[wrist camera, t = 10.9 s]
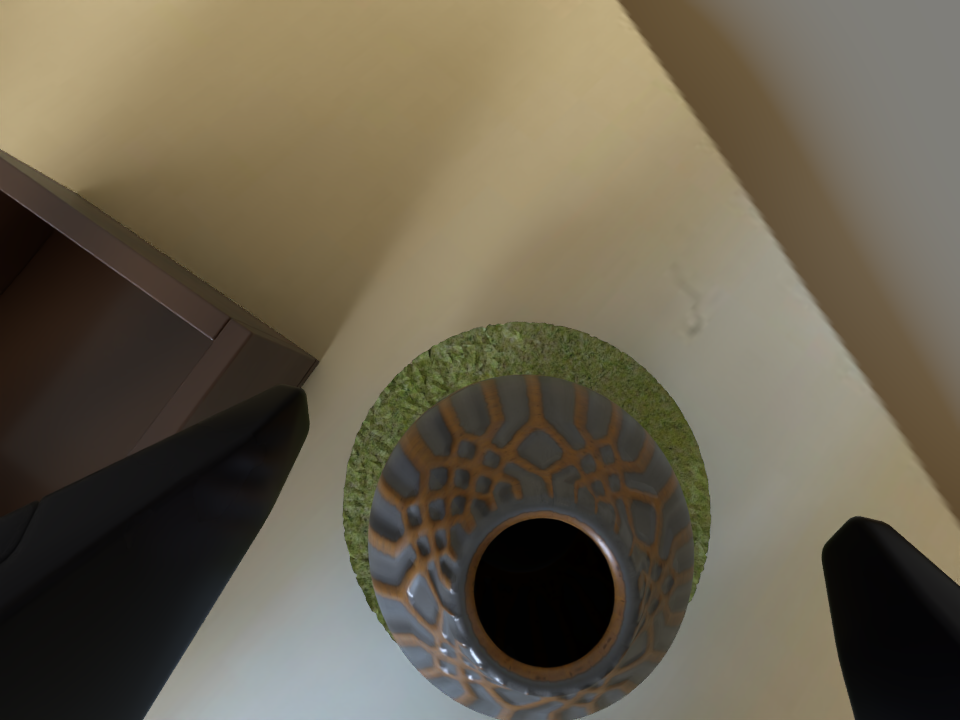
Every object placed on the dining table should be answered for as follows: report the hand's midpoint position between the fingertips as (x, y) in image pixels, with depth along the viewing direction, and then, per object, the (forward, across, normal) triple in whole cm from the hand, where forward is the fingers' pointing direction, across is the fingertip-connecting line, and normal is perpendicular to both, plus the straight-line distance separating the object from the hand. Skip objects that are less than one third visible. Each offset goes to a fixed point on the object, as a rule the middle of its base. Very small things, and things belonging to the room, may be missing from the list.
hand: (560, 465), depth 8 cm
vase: (+4, 0, +6) cm, 7 cm away
